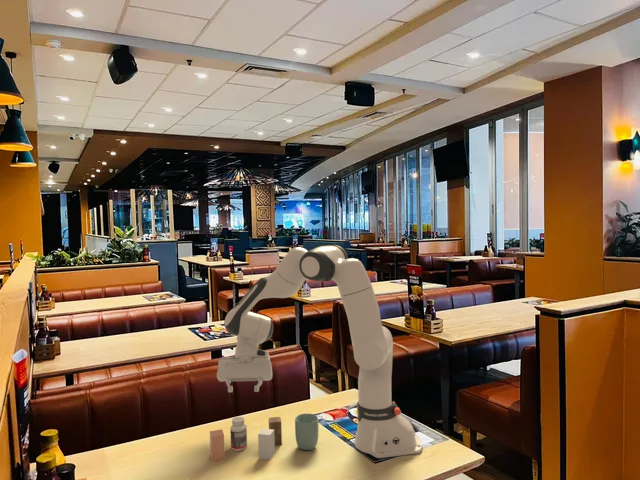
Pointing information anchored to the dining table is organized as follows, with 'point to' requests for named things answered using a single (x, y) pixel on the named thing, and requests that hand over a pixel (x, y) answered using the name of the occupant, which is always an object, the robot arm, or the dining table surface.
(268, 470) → the dining table surface
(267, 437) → the grey block
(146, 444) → the dining table surface
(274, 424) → the walnut block
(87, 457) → the dining table surface
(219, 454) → the terracotta block
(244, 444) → the pill bottle
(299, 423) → the cup
